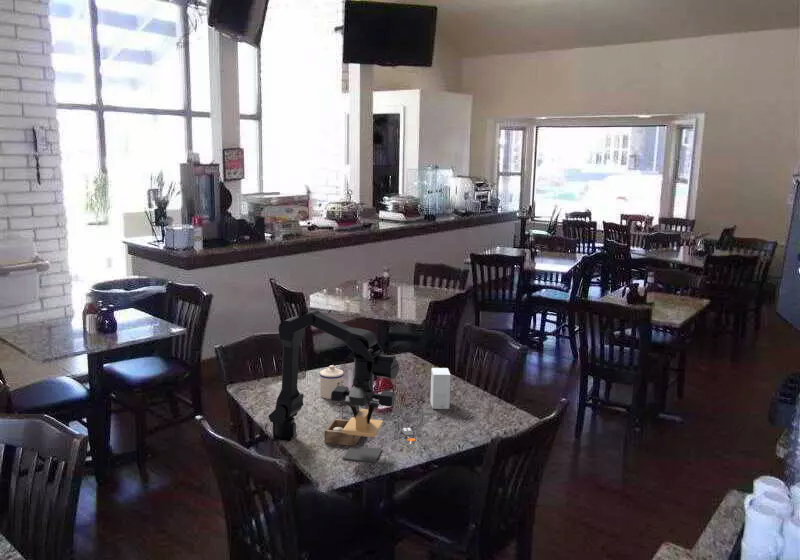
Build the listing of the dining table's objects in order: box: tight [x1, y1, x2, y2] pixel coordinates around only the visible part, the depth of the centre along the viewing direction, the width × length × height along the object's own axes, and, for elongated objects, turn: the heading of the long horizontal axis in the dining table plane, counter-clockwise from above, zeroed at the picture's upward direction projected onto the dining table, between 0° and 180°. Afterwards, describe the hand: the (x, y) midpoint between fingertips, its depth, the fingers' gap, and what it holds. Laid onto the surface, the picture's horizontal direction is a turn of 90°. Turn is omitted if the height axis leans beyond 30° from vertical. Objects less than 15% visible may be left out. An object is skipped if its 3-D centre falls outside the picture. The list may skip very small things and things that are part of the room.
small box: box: [430, 367, 452, 410], centre depth 246 cm, size 8×6×13 cm
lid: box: [342, 408, 384, 438], centre depth 203 cm, size 10×10×6 cm
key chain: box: [400, 427, 416, 445], centre depth 218 cm, size 13×4×2 cm, turn 13°
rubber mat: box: [342, 445, 383, 464], centre depth 205 cm, size 10×9×1 cm
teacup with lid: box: [319, 364, 345, 400], centre depth 255 cm, size 12×9×12 cm
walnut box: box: [324, 418, 362, 446], centre depth 217 cm, size 10×10×4 cm
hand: (363, 422), depth 203 cm, fingers closed on lid, 3 cm apart
